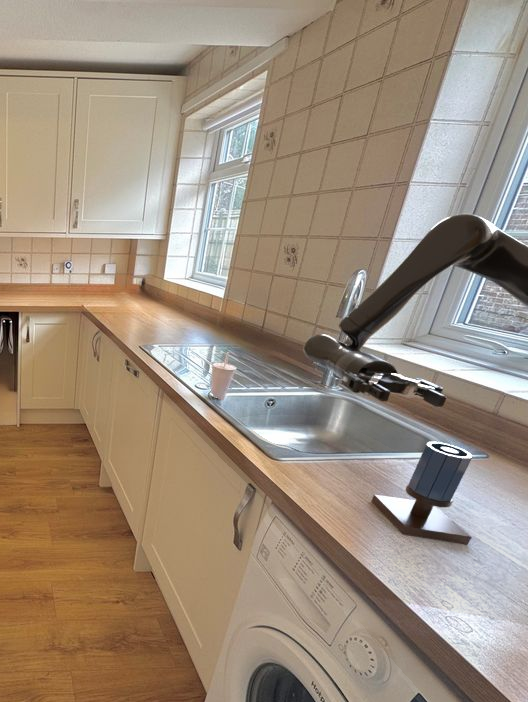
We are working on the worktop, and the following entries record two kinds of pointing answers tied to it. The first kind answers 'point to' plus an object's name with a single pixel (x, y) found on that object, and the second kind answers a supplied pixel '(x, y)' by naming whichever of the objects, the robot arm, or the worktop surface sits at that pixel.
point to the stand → (422, 514)
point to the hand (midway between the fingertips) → (414, 399)
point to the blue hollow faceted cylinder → (439, 472)
